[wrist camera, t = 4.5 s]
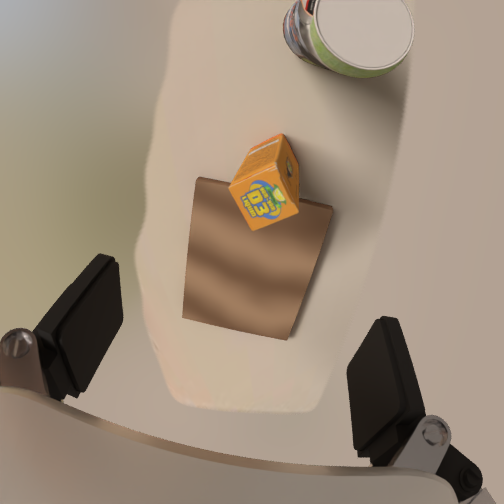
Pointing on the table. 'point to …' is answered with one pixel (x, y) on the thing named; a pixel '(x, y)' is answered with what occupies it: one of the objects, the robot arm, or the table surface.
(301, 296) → the walnut board
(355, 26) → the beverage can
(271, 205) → the supplement box
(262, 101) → the table surface
